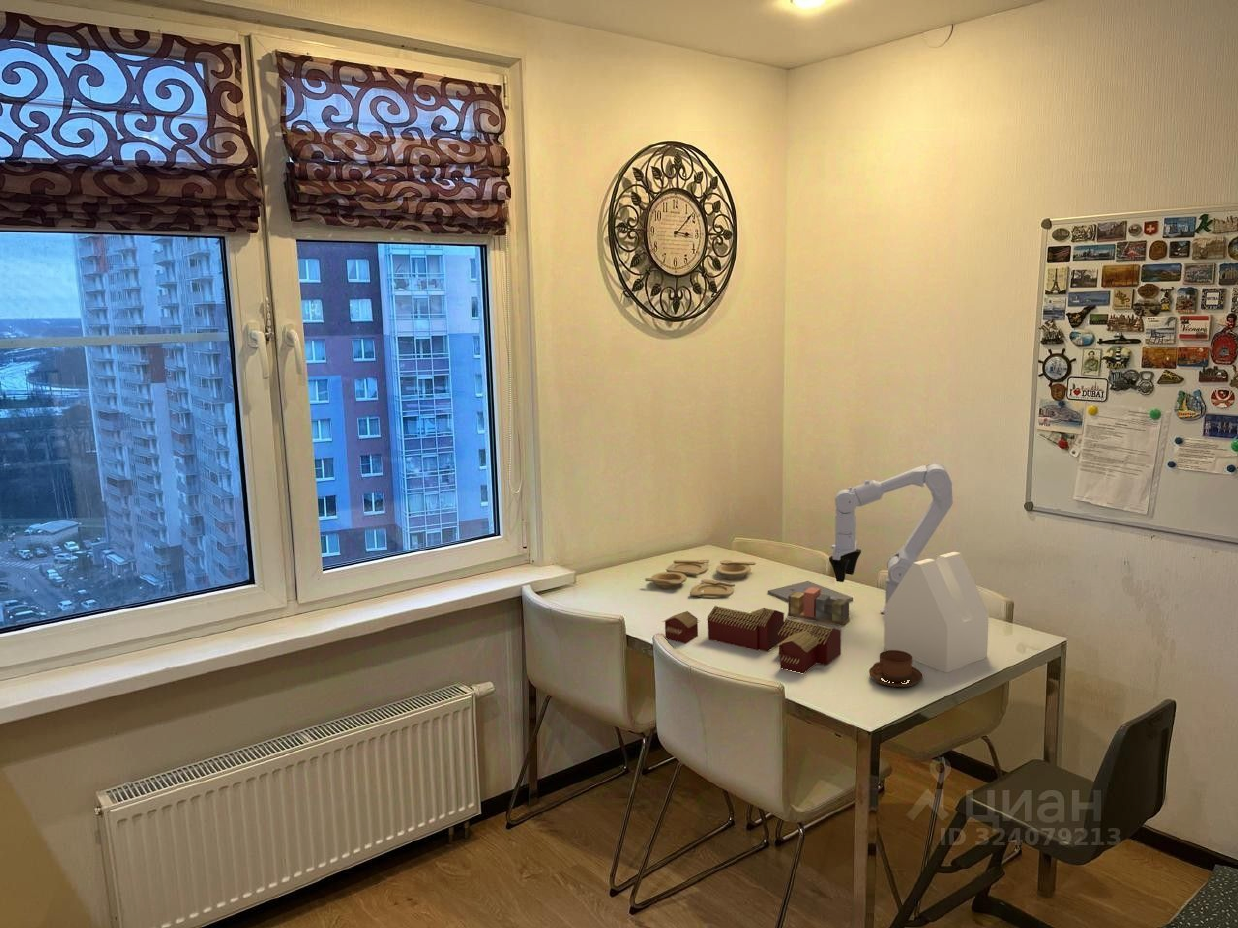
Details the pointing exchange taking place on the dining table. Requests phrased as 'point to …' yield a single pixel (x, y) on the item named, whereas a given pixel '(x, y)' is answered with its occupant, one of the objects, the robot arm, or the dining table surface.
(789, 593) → the play button award
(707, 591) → the tableware set
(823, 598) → the rack
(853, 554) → the robot arm
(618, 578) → the dining table surface
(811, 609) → the red rectangular block
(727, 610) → the toy houses
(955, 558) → the milk carton
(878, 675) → the cup and saucer
